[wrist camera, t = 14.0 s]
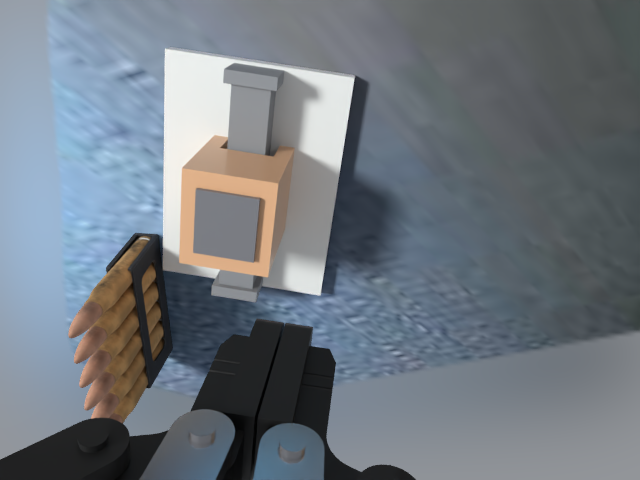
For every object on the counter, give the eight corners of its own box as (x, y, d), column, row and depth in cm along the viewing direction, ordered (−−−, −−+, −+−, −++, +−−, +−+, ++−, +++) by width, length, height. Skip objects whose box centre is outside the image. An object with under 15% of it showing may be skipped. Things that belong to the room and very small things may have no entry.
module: (294, 147, 37) (277, 185, 30) (284, 229, 39) (267, 279, 33) (214, 135, 37) (180, 169, 30) (210, 217, 40) (177, 265, 33)
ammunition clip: (172, 350, 46) (111, 464, 36) (151, 348, 46) (83, 461, 36) (158, 233, 42) (82, 323, 31) (134, 232, 42) (50, 322, 31)
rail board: (354, 75, 35) (353, 85, 32) (321, 288, 42) (317, 314, 39) (170, 47, 36) (149, 54, 32) (167, 263, 43) (150, 287, 39)
